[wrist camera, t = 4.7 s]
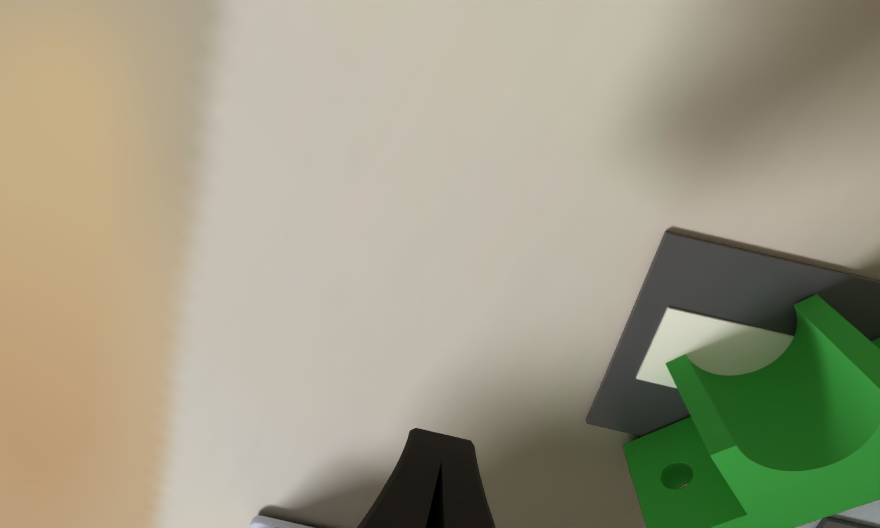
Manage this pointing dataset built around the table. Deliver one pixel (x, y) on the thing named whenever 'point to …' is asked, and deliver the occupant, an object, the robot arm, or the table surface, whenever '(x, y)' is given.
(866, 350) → the pipe clamp
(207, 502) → the table surface
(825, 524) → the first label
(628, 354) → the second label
